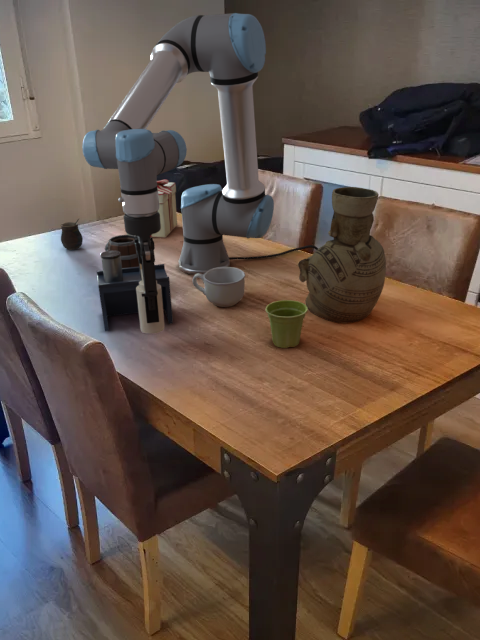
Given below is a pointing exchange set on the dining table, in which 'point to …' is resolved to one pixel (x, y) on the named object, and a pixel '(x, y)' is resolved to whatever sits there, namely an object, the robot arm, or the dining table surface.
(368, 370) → the dining table surface
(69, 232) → the mate gourd
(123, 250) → the mug
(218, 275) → the teacup
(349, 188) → the ceramic vessel
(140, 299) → the oil bottle
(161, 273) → the blue channel bracket
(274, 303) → the plant pot
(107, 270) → the spice tin
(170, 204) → the gift box
